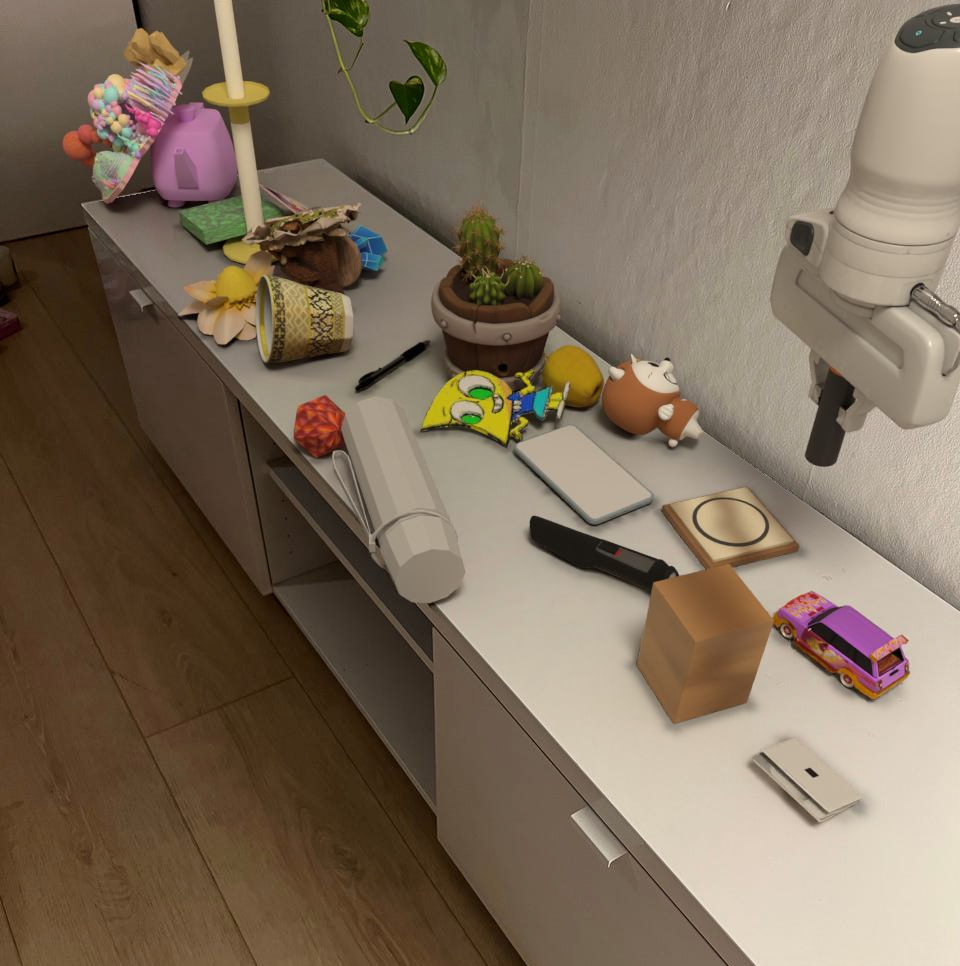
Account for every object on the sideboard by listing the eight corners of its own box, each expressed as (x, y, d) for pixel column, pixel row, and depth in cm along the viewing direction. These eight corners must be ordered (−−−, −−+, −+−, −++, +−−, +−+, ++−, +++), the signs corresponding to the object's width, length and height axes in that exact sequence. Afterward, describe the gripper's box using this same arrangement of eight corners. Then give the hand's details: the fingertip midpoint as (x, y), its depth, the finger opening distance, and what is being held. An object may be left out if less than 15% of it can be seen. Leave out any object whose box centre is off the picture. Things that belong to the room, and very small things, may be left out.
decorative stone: (309, 395, 101) (277, 393, 107) (310, 462, 102) (278, 456, 109) (364, 396, 104) (330, 393, 110) (365, 460, 106) (331, 454, 112)
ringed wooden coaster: (745, 492, 104) (748, 481, 104) (797, 551, 98) (801, 541, 97) (661, 511, 102) (663, 500, 101) (708, 573, 96) (711, 563, 95)
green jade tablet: (254, 191, 149) (258, 208, 150) (177, 211, 144) (182, 228, 146) (282, 209, 141) (286, 227, 142) (202, 230, 137) (207, 248, 138)
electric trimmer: (539, 528, 100) (541, 503, 98) (681, 584, 94) (687, 559, 92) (521, 549, 98) (522, 524, 95) (665, 607, 92) (670, 582, 90)
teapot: (168, 170, 159) (152, 84, 150) (247, 171, 160) (235, 85, 151) (147, 223, 146) (127, 132, 136) (232, 224, 146) (219, 132, 137)
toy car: (805, 602, 93) (818, 565, 90) (909, 681, 86) (928, 645, 83) (763, 626, 91) (775, 589, 87) (867, 709, 84) (884, 673, 81)
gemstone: (309, 287, 134) (348, 259, 143) (367, 288, 131) (403, 260, 140) (298, 230, 130) (339, 205, 138) (358, 230, 127) (396, 205, 136)
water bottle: (407, 386, 103) (473, 538, 87) (405, 449, 109) (467, 603, 92) (319, 394, 101) (370, 552, 84) (322, 458, 106) (370, 617, 90)
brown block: (706, 646, 89) (729, 563, 82) (746, 703, 84) (774, 620, 77) (636, 665, 87) (653, 582, 80) (673, 724, 83) (695, 641, 75)
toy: (550, 454, 107) (419, 427, 110) (551, 457, 108) (420, 431, 111) (572, 373, 110) (443, 349, 112) (572, 377, 111) (444, 353, 113)
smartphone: (592, 522, 99) (510, 444, 108) (591, 529, 100) (510, 451, 108) (657, 496, 102) (573, 422, 111) (656, 503, 103) (572, 429, 111)
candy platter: (178, 63, 155) (123, 18, 149) (214, 45, 136) (153, -8, 130) (97, 203, 157) (40, 164, 151) (121, 205, 138) (58, 160, 132)
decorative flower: (329, 299, 127) (309, 337, 136) (275, 226, 126) (258, 269, 135) (234, 349, 120) (219, 385, 129) (177, 271, 119) (166, 313, 128)
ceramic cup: (359, 284, 114) (272, 279, 111) (356, 372, 119) (272, 370, 115) (330, 271, 125) (250, 267, 121) (328, 352, 129) (250, 350, 126)
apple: (598, 385, 109) (538, 346, 110) (577, 428, 114) (520, 390, 115) (622, 360, 113) (565, 323, 114) (601, 402, 118) (546, 366, 119)
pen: (348, 382, 115) (349, 390, 116) (359, 387, 115) (360, 395, 116) (422, 333, 123) (422, 342, 124) (433, 338, 123) (433, 346, 124)
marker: (825, 445, 90) (858, 334, 82) (844, 463, 88) (879, 352, 80) (797, 451, 89) (828, 341, 81) (815, 470, 87) (848, 358, 79)
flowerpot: (581, 387, 117) (599, 219, 103) (471, 425, 112) (473, 252, 97) (513, 333, 126) (521, 170, 111) (407, 365, 120) (401, 198, 106)
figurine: (723, 388, 102) (626, 330, 104) (675, 463, 104) (581, 405, 107) (731, 397, 111) (641, 343, 113) (686, 466, 113) (599, 412, 116)
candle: (243, 228, 145) (195, -84, 118) (305, 239, 143) (271, -76, 116) (209, 257, 139) (150, -66, 111) (274, 269, 137) (230, -57, 109)
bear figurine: (218, 237, 122) (250, 335, 128) (325, 217, 117) (352, 321, 123) (271, 214, 133) (297, 306, 139) (370, 196, 127) (393, 292, 134)
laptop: (745, 767, 79) (755, 750, 78) (787, 748, 82) (798, 731, 81) (813, 832, 75) (825, 815, 74) (855, 809, 78) (867, 792, 77)
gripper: (1011, 316, 69) (941, 476, 79) (841, 199, 82) (800, 349, 92) (936, 330, 68) (875, 492, 78) (775, 209, 81) (741, 361, 91)
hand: (833, 413), depth 85 cm, fingers closed on marker, 3 cm apart
